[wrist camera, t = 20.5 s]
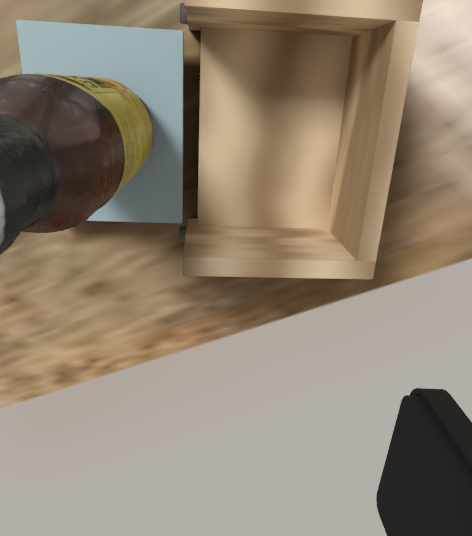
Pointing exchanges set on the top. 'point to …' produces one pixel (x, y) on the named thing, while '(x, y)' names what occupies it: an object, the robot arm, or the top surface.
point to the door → (137, 80)
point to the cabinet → (296, 134)
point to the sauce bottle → (65, 149)
